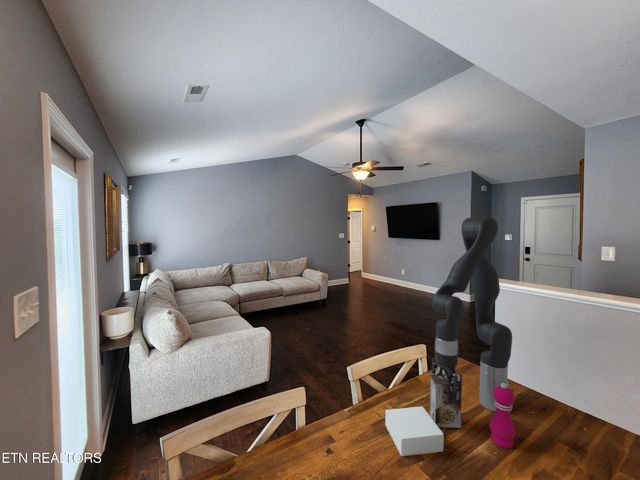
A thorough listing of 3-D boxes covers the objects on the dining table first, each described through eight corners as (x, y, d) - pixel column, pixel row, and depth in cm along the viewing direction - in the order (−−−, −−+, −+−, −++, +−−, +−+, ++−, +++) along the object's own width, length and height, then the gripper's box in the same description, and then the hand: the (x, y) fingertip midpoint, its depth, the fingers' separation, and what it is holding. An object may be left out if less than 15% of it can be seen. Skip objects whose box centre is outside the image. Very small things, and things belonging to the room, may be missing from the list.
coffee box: (454, 416, 108) (455, 374, 107) (461, 428, 102) (462, 384, 101) (429, 415, 109) (430, 373, 108) (434, 427, 103) (435, 383, 102)
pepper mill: (511, 436, 99) (513, 379, 97) (518, 452, 92) (520, 391, 90) (487, 431, 101) (489, 375, 100) (492, 446, 94) (494, 387, 93)
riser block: (422, 422, 106) (422, 406, 106) (443, 452, 92) (443, 434, 92) (385, 425, 104) (385, 409, 104) (401, 457, 91) (401, 438, 90)
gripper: (469, 358, 97) (468, 404, 99) (443, 340, 111) (442, 382, 113) (450, 360, 96) (449, 408, 97) (425, 342, 110) (425, 384, 111)
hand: (445, 393), depth 105 cm, fingers closed on coffee box, 7 cm apart
